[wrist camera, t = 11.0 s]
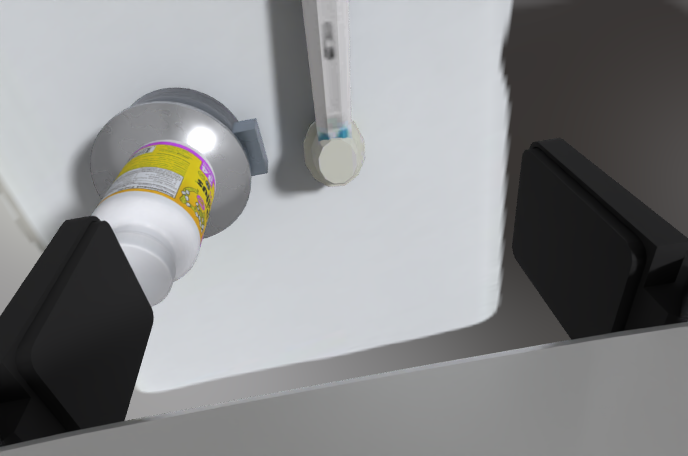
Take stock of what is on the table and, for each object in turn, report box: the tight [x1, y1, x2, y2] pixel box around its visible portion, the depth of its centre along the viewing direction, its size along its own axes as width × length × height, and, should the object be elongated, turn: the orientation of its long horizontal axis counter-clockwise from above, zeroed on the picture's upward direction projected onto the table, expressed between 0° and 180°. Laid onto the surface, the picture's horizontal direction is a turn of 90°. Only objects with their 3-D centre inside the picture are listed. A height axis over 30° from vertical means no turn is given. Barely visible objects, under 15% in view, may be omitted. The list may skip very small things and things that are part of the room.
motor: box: [90, 88, 268, 239], centre depth 39 cm, size 12×13×6 cm
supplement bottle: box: [91, 140, 216, 307], centre depth 31 cm, size 7×7×13 cm
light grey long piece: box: [301, 0, 365, 187], centre depth 35 cm, size 5×7×25 cm
